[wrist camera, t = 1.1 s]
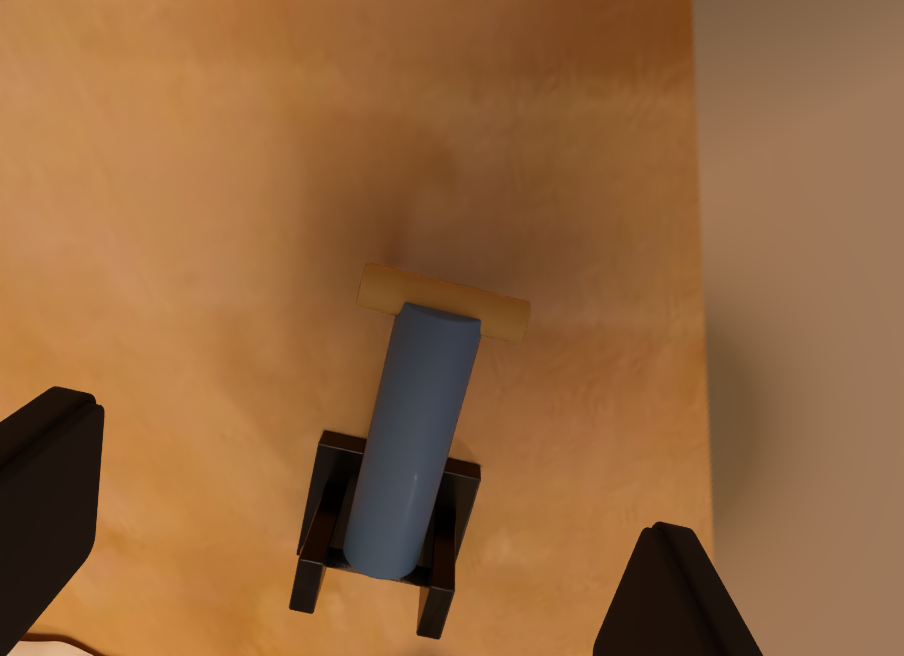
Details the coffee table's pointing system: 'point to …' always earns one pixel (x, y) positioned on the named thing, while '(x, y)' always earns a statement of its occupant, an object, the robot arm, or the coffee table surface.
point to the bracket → (331, 517)
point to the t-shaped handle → (417, 407)
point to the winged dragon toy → (46, 649)
